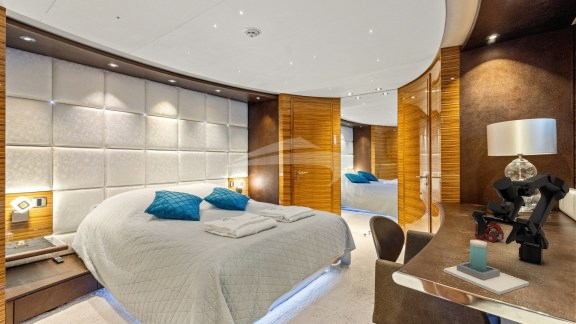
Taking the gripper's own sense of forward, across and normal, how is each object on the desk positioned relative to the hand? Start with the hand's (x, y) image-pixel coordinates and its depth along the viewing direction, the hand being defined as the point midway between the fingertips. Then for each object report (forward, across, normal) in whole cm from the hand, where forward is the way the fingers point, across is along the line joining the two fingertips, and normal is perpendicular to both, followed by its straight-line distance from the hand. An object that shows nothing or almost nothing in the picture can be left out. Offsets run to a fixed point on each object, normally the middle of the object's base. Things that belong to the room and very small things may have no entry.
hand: (491, 239), depth 95 cm
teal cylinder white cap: (+13, 0, +2) cm, 13 cm away
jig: (+14, +2, +3) cm, 14 cm away
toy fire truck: (-20, -24, +37) cm, 49 cm away
